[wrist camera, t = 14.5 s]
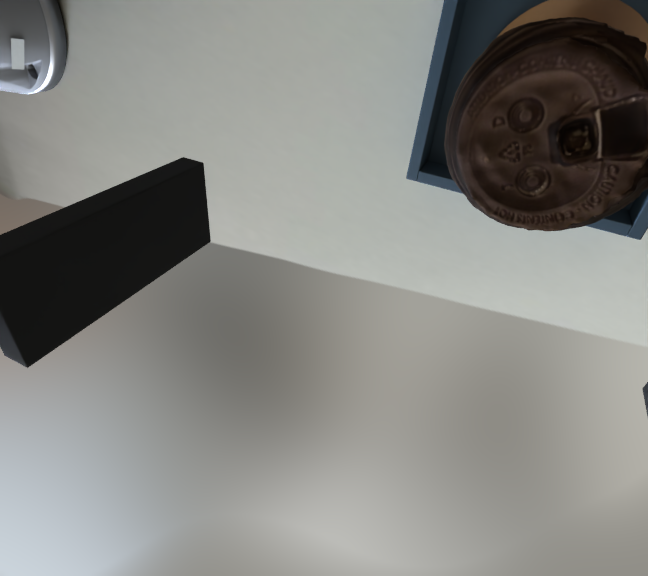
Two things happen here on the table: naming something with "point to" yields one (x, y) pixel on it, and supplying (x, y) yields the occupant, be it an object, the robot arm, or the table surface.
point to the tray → (446, 75)
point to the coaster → (589, 15)
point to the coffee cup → (552, 125)
